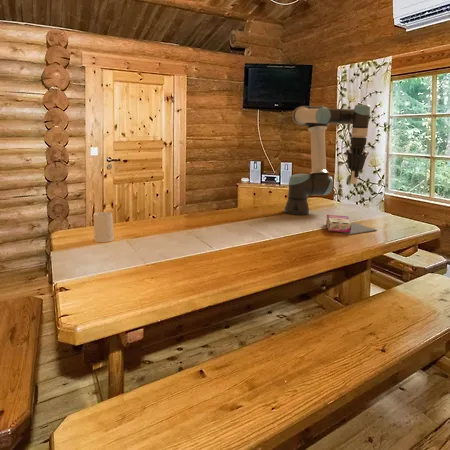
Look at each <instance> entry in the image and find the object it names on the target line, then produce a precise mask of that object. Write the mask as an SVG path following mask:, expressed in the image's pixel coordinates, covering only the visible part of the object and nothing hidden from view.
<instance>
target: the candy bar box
mask: <svg viewBox="0 0 450 450" xmlns="http://www.w3.org/2000/svg"><path fill="white" fill-rule="evenodd" d="M351 223H352V222H351V221H350V218H349V216H348V215H345V216H344V215H336V214H334V215H333V214H327V215H326V222H325V224H326V228H327V227H328V228H327V230H328V232H338V231H339V232H338V233H341V232H350V231H351V225H352V224H351Z"/></svg>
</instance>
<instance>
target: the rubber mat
mask: <svg viewBox="0 0 450 450" xmlns="http://www.w3.org/2000/svg"><path fill="white" fill-rule="evenodd" d="M351 224H352V225H351V231H350V232H339V231H337V232H338V233H342V234H345V235H347V236H352V235H358V234H365V233H372V232H377V231H378V230H377V229H375V228H373V227H369V226H366V225H363V224H360V223H356V222H351ZM326 228H327V229H328V227H327V226H326Z"/></svg>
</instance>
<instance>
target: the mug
mask: <svg viewBox="0 0 450 450" xmlns="http://www.w3.org/2000/svg"><path fill="white" fill-rule="evenodd" d="M113 218H114V217H113V213H112V212H109V211H98V212H94V213H93V228H94V229H93V232H94V240H93V241H95V242H96V243H101V242H102V243H103V244H104V243H111V242H113V241H114V240H115V237H114V220H113Z"/></svg>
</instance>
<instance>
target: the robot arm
mask: <svg viewBox="0 0 450 450" xmlns="http://www.w3.org/2000/svg"><path fill="white" fill-rule="evenodd" d="M370 115H371V105H369V104H356V105H354V107H353V108H332V107H331V108H330V107H329V108H328V107H326V106H322V105H318V106H311V105H301V106H298V107H296V108H295V109H294V110H293V112H292V116H291V117H292V121H293V122H294V123H295V124H296V125H299V126H303V127H307V131H308V132H309V133H310V151H311V152H310V154H311V157H310V158H311V160H310V161H311V171H310V173H309V174H308V173H295V174H292V175H290V176H289V178H288V179H289V181H288V192H287V193H288V194H287V201H286V203H285V205H284V209H283V212H284V214H289V215H295V216H305V215H309V214H310V208H309V203H308V196H327V195H329V194H330V193H331V192H332V190H333V187H334V180H333V177H332V176H331V175H330V172H329V171H327V157H326V156H327V155H326V152H327V151H326V130H327V129H328V127H329V125H331V124H332V125H333V124H334V125H335V124H336V125H352V127H351V136H352V137H351V138H350V148H349V149H345V150H346V156H347V169H349V170H350V184H351V185H353V184H354V185H357V183H358V178H359V173H360V171H363V169H364V166H365V164H366V163H365V162H366V160H367V157H368V155H369V151H367V150H366V145H367V140H368V139H367V137H368V130H369V125H370V124H369V122H370Z"/></svg>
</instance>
